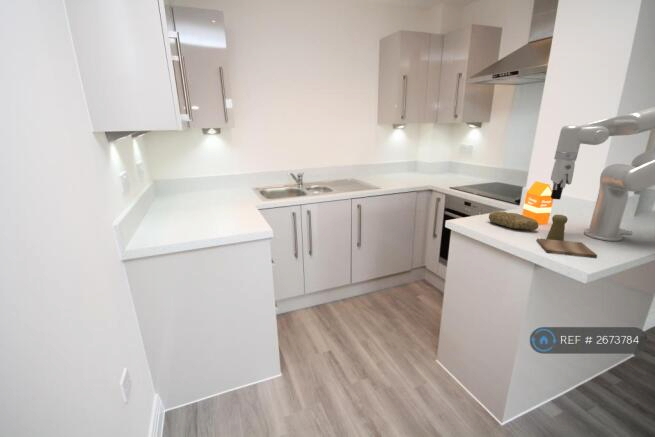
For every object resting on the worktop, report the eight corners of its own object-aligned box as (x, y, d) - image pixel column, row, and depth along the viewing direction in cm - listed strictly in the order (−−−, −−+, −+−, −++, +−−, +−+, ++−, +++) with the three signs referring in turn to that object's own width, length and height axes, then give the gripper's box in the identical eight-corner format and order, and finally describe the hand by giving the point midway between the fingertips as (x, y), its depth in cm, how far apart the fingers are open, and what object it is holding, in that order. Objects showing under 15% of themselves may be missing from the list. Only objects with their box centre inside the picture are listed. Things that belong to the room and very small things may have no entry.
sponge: (485, 225, 155) (522, 229, 136) (487, 209, 154) (524, 212, 136) (504, 227, 159) (542, 231, 141) (506, 212, 159) (544, 214, 140)
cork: (543, 237, 135) (548, 213, 132) (557, 237, 135) (562, 213, 131) (552, 242, 129) (558, 217, 126) (567, 242, 129) (573, 217, 126)
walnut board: (581, 245, 126) (581, 242, 126) (596, 258, 114) (597, 255, 114) (536, 240, 131) (536, 238, 130) (546, 252, 119) (547, 249, 119)
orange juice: (534, 218, 160) (542, 180, 154) (548, 224, 152) (557, 184, 146) (520, 219, 159) (528, 181, 153) (533, 224, 151) (542, 184, 145)
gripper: (584, 158, 121) (572, 203, 127) (569, 155, 134) (558, 195, 140) (562, 157, 123) (551, 202, 129) (549, 154, 137) (539, 194, 142)
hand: (555, 198), depth 134 cm, fingers closed
